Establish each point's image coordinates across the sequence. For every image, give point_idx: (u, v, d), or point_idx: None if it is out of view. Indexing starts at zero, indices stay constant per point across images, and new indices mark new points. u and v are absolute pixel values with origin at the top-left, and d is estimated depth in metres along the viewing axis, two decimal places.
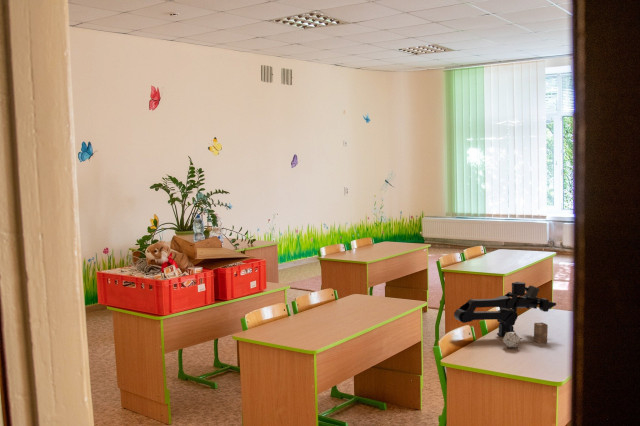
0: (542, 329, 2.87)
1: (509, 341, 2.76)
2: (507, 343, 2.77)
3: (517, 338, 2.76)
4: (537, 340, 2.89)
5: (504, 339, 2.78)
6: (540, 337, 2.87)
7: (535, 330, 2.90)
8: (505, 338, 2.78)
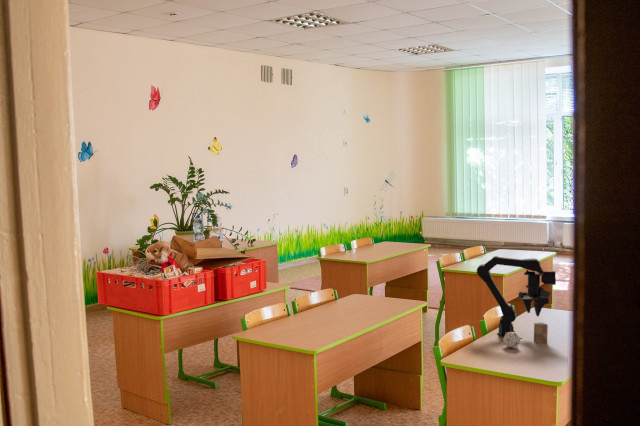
0: (542, 329, 2.87)
1: (509, 341, 2.76)
2: (507, 343, 2.77)
3: (517, 338, 2.76)
4: (537, 340, 2.89)
5: (504, 339, 2.78)
6: (540, 337, 2.87)
7: (535, 330, 2.90)
8: (505, 338, 2.78)
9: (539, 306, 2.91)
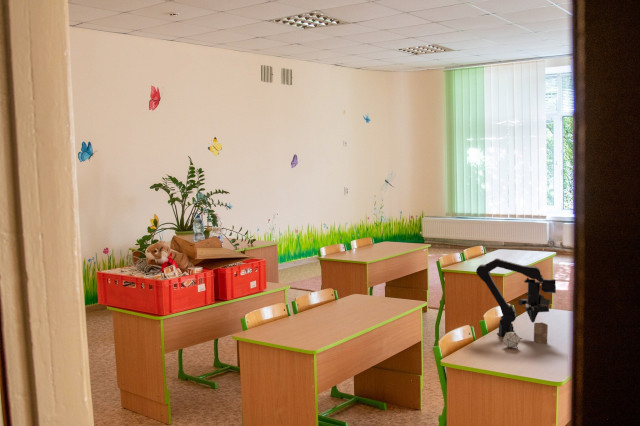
0: (542, 329, 2.87)
1: (509, 341, 2.76)
2: (507, 343, 2.77)
3: (517, 338, 2.76)
4: (537, 340, 2.89)
5: (504, 339, 2.78)
6: (540, 337, 2.87)
7: (535, 330, 2.90)
8: (505, 338, 2.78)
9: (534, 312, 2.95)
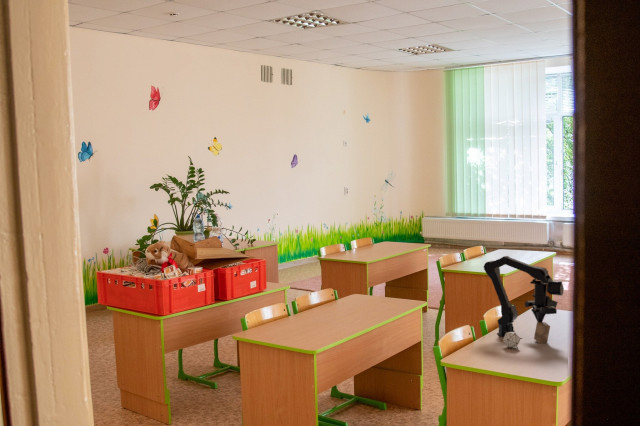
0: (544, 330, 2.86)
1: (509, 341, 2.76)
2: (507, 343, 2.77)
3: (517, 338, 2.76)
4: (537, 340, 2.88)
5: (504, 339, 2.78)
6: (541, 337, 2.87)
7: (537, 329, 2.89)
8: (505, 338, 2.78)
9: (542, 314, 2.89)
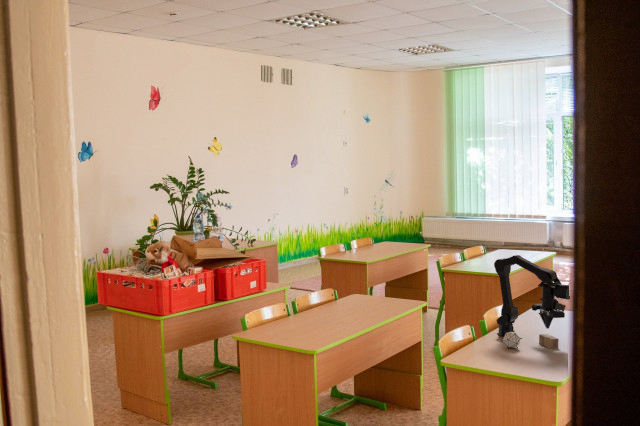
0: None
1: (509, 341, 2.76)
2: (507, 343, 2.77)
3: (517, 338, 2.76)
4: (540, 341, 2.86)
5: (504, 339, 2.78)
6: None
7: (545, 339, 2.82)
8: (505, 338, 2.78)
9: (549, 318, 2.83)
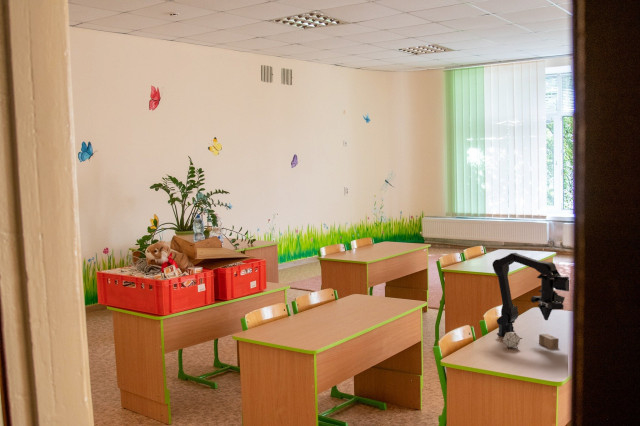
0: None
1: (509, 341, 2.76)
2: (507, 343, 2.77)
3: (517, 338, 2.76)
4: (540, 341, 2.86)
5: (504, 339, 2.78)
6: None
7: (545, 339, 2.82)
8: (505, 338, 2.78)
9: (548, 310, 2.83)
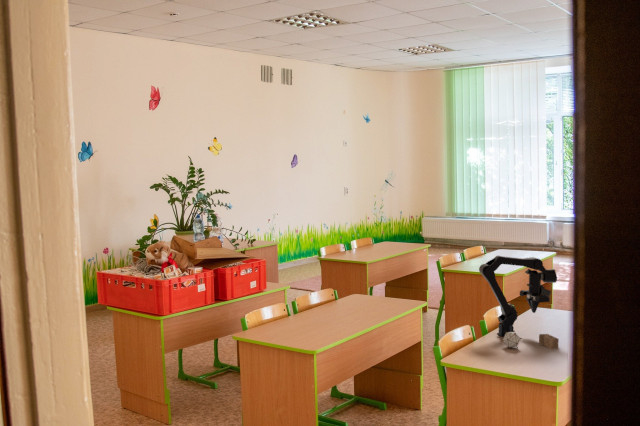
0: None
1: (509, 341, 2.76)
2: (507, 343, 2.77)
3: (517, 338, 2.76)
4: (540, 341, 2.86)
5: (504, 339, 2.78)
6: None
7: (545, 339, 2.82)
8: (505, 338, 2.78)
9: (535, 303, 2.99)
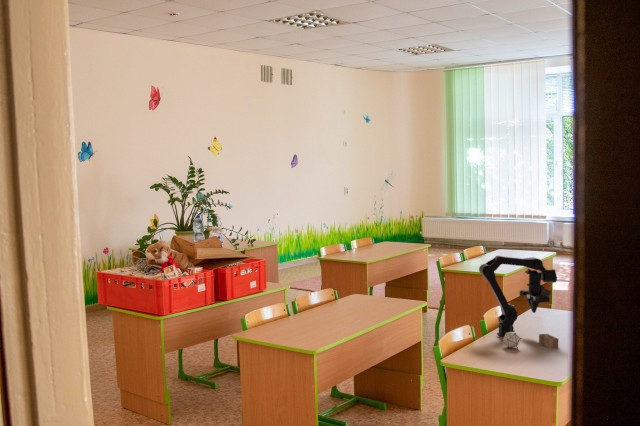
0: None
1: (509, 341, 2.76)
2: (507, 343, 2.77)
3: (517, 338, 2.76)
4: (540, 341, 2.86)
5: (504, 339, 2.78)
6: None
7: (545, 339, 2.82)
8: (505, 338, 2.78)
9: (535, 303, 2.99)
